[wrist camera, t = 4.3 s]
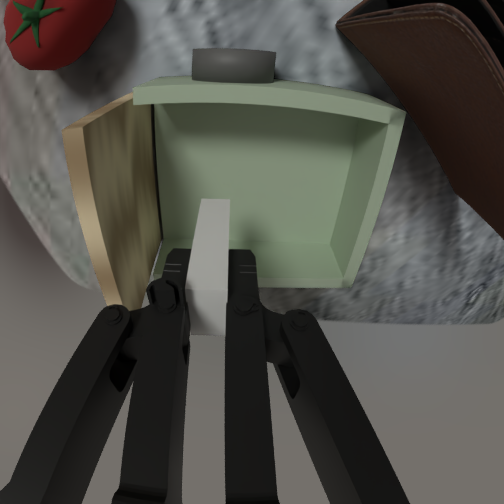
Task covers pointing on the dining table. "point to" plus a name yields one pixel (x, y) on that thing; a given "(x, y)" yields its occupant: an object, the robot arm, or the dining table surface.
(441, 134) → the letter holder
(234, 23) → the dining table surface
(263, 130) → the box
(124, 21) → the dining table surface
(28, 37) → the tomato
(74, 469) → the robot arm
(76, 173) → the panel
